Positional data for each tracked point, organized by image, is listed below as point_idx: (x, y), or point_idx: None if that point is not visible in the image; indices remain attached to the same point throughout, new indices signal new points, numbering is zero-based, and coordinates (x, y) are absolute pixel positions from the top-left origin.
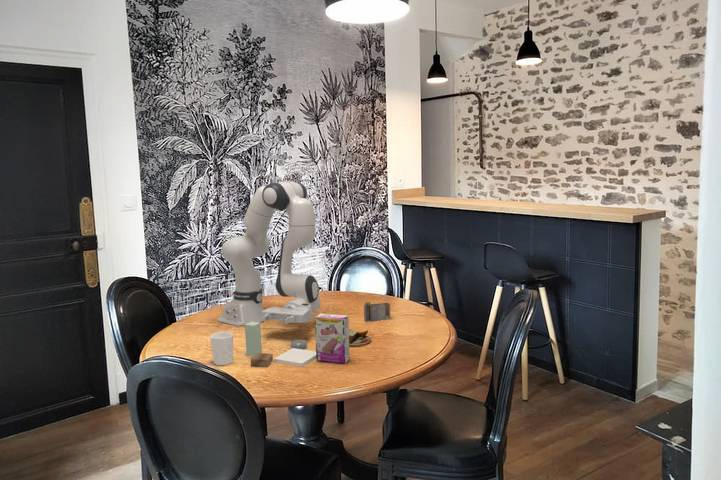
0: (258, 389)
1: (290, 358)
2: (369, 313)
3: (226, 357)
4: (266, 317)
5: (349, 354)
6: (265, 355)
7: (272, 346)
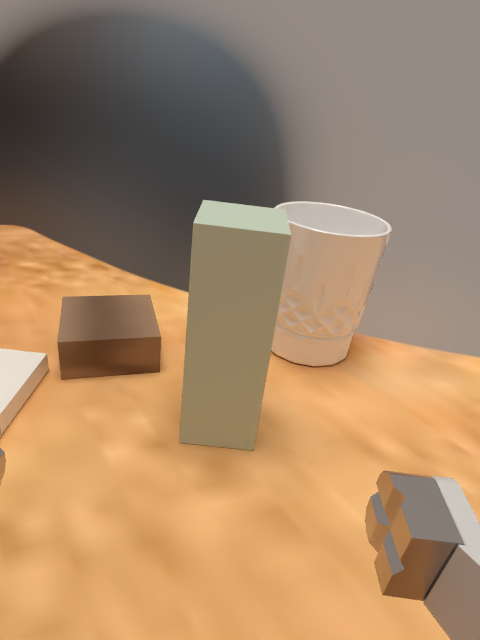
0: (43, 243)
1: None
2: None
3: None
4: (386, 481)
5: None
6: (92, 323)
7: (182, 615)
